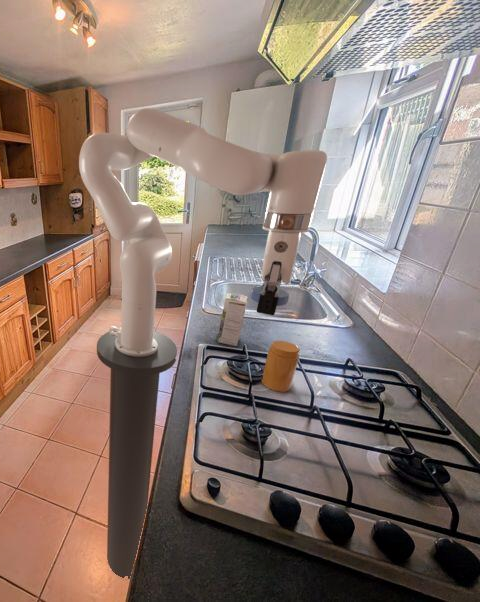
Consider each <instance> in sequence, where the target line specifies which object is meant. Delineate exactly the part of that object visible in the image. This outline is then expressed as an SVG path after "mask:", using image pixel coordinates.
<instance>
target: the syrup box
mask: <svg viewBox="0 0 480 602" xmlns="http://www.w3.org/2000/svg"><path fill="white" fill-rule="evenodd" d="M248 299H249V296H247V295H243V294H238V293H237V294H236V293H227V295H226V297H225V299H224V303H223V310H222V313H221V318H220V324H219V330H218V333H217V334H218V335H217V340H216V342H217V343H219V344H224V345H228V346H233V347H238V345H239V341H240V336H241V331H242V328H243V327H242V326H243V323H244V320H245V319H244V318H245V315H246V314H245V313H246V310H247V304H248Z"/></svg>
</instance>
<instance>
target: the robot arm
mask: <svg viewBox="0 0 480 602" xmlns="http://www.w3.org/2000/svg"><path fill="white" fill-rule="evenodd" d="M131 115H132V116H131V117H130V118H129V120H128V122H127V124H126V125H127V126H126V135H122V134H116V133H111V132H98V133H97V132H96V133H93V134H91V135H90V136H88V137H87V138H86V139H85V140H84V142H83V143H82V146H81V149H80V152H79V156H78V167H79V168H78V169H79V174H80V177H81V181H82V183H83V184H84V186H85V188H86V189H87V191H88V193H89V195H90V196H91V198H92V200H93V201H94V203H95V207H96V208H97V210H98V212H99V214H100V217H101V219H102V220H103V222H104V225H105V226H106V228H107V230H108V232H109V234H110V236H111V237H112V238H113V239H114V240H116V241H119V242H120V241H121V242H125V241H129V240H133V241H134V242H132V243H129V244H128V245H127V246H126V247H124V249H123V250H122V252H121V254H120V256H119V271H120V278H121V308H120V309H121V310H120V315H121V316H120V327H117V326H114V325H110V327H109V332H110V335H111V336H116V337H117V339H116V341H115V346H116V348H117V349H118V350H119V351H120V352H121V353H123V354H126V355H129V356H135V357H143V356H149V355H151V354H153V353H155V352H156V351H157V348H158V343H157V341H156V340H155V339H154V338H153V331H155V330H154V327H155V315H156V304H157V284H156V283H157V282H156V278H155V273H156V272H157V271H159V270H161V269H163V268H165V267H166V266H167V265H169V263H170V262H171V260H172V258H173V248H172V244H171V242H170V240H169V238H168V235H167V233H166V231H165V229H164V228H163V226H162V224H161V222H160V220H159V218H158V216H157V213H156V212H155V211H154V210H153V209H152V207H151V206H150V205H148V204H146V203H143V202H132V201H131V199H130V198H129V195H128V194H127V192H126V190H125V187H124V185H123V184H122V183H121V181H119V179H118V178H117V177H116V175H114V173H113V172H112V171H125V170H129V169H132V168H134V167H136V166H138V165H140V164H142V163H145V162H147V161H149V160H151V159H153V158H157V159H160V160H162V161H164V162H166V163H168V164H170V165H172V166H175V167H177V168H179V169H180V170H182V171H183V172H185V173H187V174H189V175H191V176H193V177H194V178H196V179H198V180H199V181H201V182H204V183H206V184H208V185H210V186H212V187H215V188H217V189H219V190H221V191H223V192H225V193H228V194H231V195H235V196H246V195H252V194H258V193H267V192H269V195H268V200H267V206H266V212H265V215H264V219H263V223H262V227H261V229H262V230H264V231H267V232H268V233H267V238H266V243H265V249H264V253H263V254H264V255H263V260H262V267H261V280H262V281H263V283H262V286H263V291H262V294H260V298H259V302H257V307H256V313H258V314H261V315H263V314H264V315H268V316H274V315H275V314H276V311H277V307H278V306H277V302H278V298H279V296H278V293H279V289H281V285H282V283H284V284H285V285H289V284H290V283H291V279H292V276H293V275H292V274H293V272H294V271H293V270H294V267H295V263H296V259H297V254H298V250H299V246H300V242H301V236H302V234H304V233H308V232H309V230H310V226H311V223H312V219H313V215H314V210H315V207H316V204H317V200H318V197H319V192H320V189H321V186H322V181H323V177H324V173H325V170H326V166H327V162H328V155H327V153H326V152H325V151H324V150H323V151H322V150H318V149H317V150H316V149H311V150H310V149H308V150H307V149H306V150H294V151H287V152H284V153H282V154H271V153H264V152H259V151H254V150H251V149H248V148H247V147H246V148H245V147H243V146H240V145H237V144H235V143H232V142H230V141H227V140H224V139H221V138H220V137H217V136H215V135H212V134H211V133H209V132H208V131H206V129H205V128H204V127H202V126H200V125H197V124H195V123H192V122H189V121H186V120H184V119H181V118H178V117H176V116H174V115H170V114H169V113H166V112H163V111H160V110H157V109H154V108H141V109H139V110H137V111H135V112H134V113H133V114H131ZM265 291H266V292H265Z"/></svg>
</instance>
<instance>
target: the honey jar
mask: <svg viewBox="0 0 480 602" xmlns="http://www.w3.org/2000/svg"><path fill="white" fill-rule="evenodd" d="M300 350H301V349H300V348H299V346H297V345H296V344H294V343H293V342H290V341H284V340H274V341H273V342H272V343H271V345H270V346H269V348H268V350H267V351H268V352H267V355H266V358H265V363H264V368H263V371H262V375H263V379H262V378H261V379H260V380H261V383H262V385H264V386H265V388H268V389H270V390H271V391H274V392H280V393H281V392H283V393H284V392H289V390H291V386H292V383H293V380H294V376H295V373H296V370H297V367H298V363H299V360H300V354H299V352H300Z"/></svg>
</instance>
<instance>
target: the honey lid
mask: <svg viewBox="0 0 480 602" xmlns="http://www.w3.org/2000/svg"><path fill="white" fill-rule="evenodd" d="M262 291H263V285H262V286H255V287H253V288H252V289H251V292H250V299H251V300H252V301H253V302H256V303H258V302H259V298H260V294H262ZM265 292H266V291H265ZM278 296H279V298H278V302H277V306H276V307H279V306H280V307H282V306H285V305H287V304H288V302H289V298H290V297H289V296H290V293H289V292H288V291H286V290H284V289H281V288H280V289H279V293H278Z"/></svg>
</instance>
